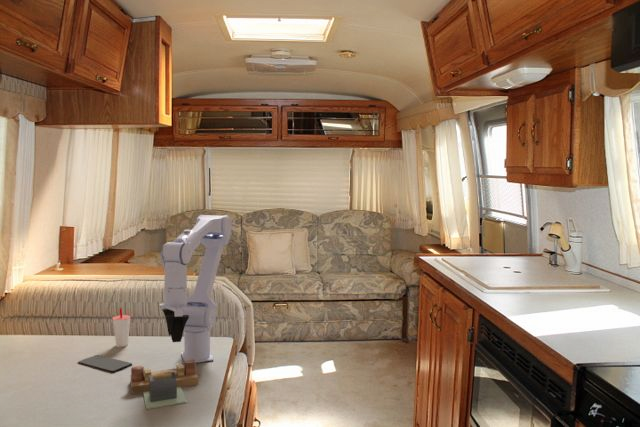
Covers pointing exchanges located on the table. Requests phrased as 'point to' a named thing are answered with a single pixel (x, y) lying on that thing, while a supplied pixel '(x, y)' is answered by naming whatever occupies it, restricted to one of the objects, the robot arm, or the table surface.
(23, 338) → the table surface
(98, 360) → the smartphone
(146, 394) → the mat
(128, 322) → the cup
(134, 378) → the block sculpture plaque
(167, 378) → the grey block
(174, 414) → the table surface
